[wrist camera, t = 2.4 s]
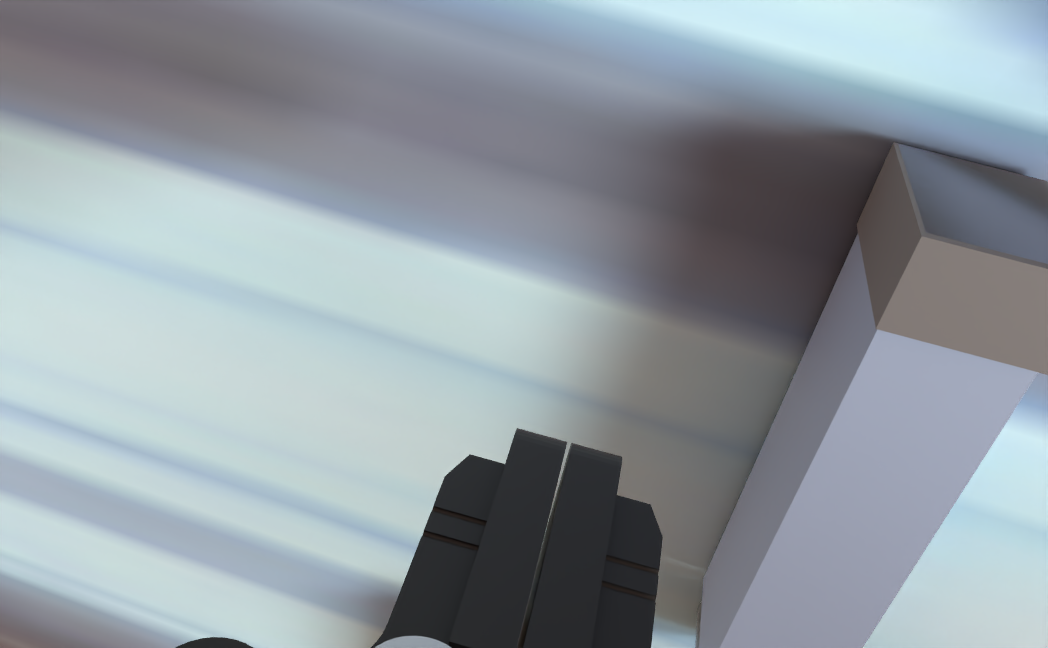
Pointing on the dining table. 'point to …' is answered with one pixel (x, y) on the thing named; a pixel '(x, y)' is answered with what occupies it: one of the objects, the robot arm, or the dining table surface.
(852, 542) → the leg
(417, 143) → the dining table surface
